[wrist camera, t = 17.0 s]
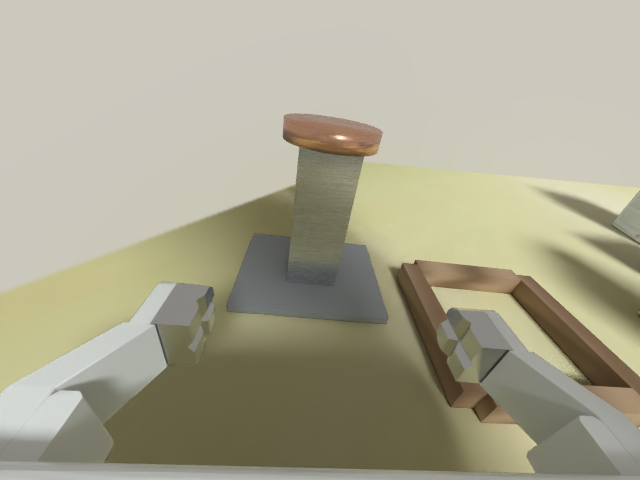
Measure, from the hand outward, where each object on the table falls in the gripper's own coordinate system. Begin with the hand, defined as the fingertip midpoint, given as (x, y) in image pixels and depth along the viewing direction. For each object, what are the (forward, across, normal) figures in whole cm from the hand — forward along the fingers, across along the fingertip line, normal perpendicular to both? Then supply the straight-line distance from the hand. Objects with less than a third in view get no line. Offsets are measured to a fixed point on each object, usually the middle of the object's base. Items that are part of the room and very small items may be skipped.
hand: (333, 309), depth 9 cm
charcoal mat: (+12, 0, +8) cm, 15 cm away
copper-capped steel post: (+12, 0, +8) cm, 14 cm away
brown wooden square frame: (+7, -15, +8) cm, 19 cm away
